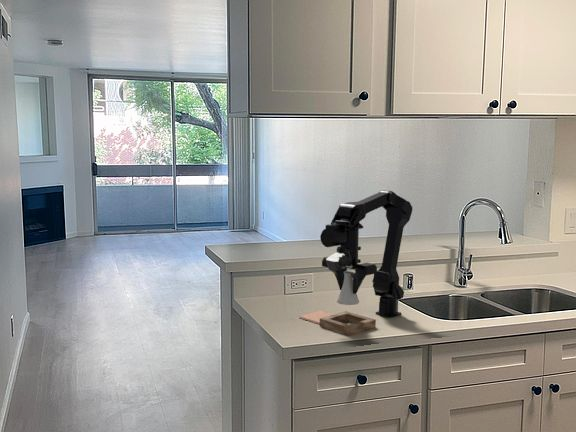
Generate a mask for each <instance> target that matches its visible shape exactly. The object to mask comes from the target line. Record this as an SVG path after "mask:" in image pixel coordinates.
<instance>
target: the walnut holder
mask: <svg viewBox="0 0 576 432" xmlns="http://www.w3.org/2000/svg"><path fill="white" fill-rule="evenodd" d="M376 321H377V319H374V318H371V317H367V316H364V315H361V314H357V313H355V312H354V313H353V312H351V311H342V312H338V313H334V314H333V315H331V316H327V317H324V318H320V324H319V327H321V328H324V329H328V330H331V331H333V332H336V333H340V334H343V335H346V336H352V335H355V334H359V333H363V332H364V331H369V330H371V329H374V328H376V325H377V324H376ZM344 322H348V323H350V324H347V323H344Z"/></svg>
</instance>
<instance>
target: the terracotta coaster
mask: <svg viewBox="0 0 576 432" xmlns="http://www.w3.org/2000/svg"><path fill="white" fill-rule="evenodd" d="M331 315H334V314H333V313H329V312H325V311H324V310H317V311H313V312H311V313H306V314H302V315H300V316H299V318H300V319H302V320H305V321H308V322H311V323H314V324H318V325H320V318H324V317H327V316H331Z"/></svg>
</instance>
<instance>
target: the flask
mask: <svg viewBox="0 0 576 432" xmlns="http://www.w3.org/2000/svg"><path fill="white" fill-rule="evenodd" d="M351 273H355V271H353V270H352V271H351V270H347V271H344V283H343V286H342V289H341V290H340V292H339V295H338V296H337V297H338V298H337V300H336V303H337V304H339V305H343V306H353V305H354V306H355V305H358V304H359V303H360V299H359V297H358V294H357V293H356V294H353V277H352V276H351Z"/></svg>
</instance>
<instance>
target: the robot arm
mask: <svg viewBox="0 0 576 432" xmlns="http://www.w3.org/2000/svg"><path fill="white" fill-rule="evenodd" d="M379 208H383V209H384V210H385V218H386V220H387V223H388V229H387V235H386V240H385V244H384V251H383V256H382V261H381V266H380V268H379V269H378V266H377V265H376V263H370V262H363V263H361V258H360V259H359V251H361V250H362V246H360V245H359V234H360V231H359V230H361V229H364V225H362V223H360V222H361V221H362V220H364V219H365V218H366V217H367V214H368V213H371V212H373V211H375V210H377V209H379ZM412 213H413V205H412V204H411V202H410V201H408V200H406V199H405V198H403V197H402V196H399V195H398V194H396V192H395V191H392V190H385V189H384V190H383V189H382V190H380V191H378V192H377V193H374V194H372V195H369V196H367V197H366V198H362V199H361V200H358V201H348V202H342V203H341V204H339V205H338V208H337V210H336V212H335V214H334V216H333V218H332V220H331V222H330V224H325V228H324V229H323V230H322V231H321V233H320V236H319V237H320V242H321V244H322V245H323V247H325V248H331V247H332V248H333V247H337V248H336V252H335V253H333V254H331V255H329V256H326V257H323V259H322V260H321V266H322V267H324V268H327V269H328V271H331V272H332V273H333V274H334V276H335V279H336V282H337V284H338V288H339V290H340V291H341V289H342V286H343V283H344V271H348V269H350V270H353V271H354V273H351V276H352V277H353V294H357V293H358V291H359V289H360V287H361V285H362V284H363V281H364V280H365V278H366V277H367V276H370V275H373V278H372V280H371V282H372V287H373V291H374V295H375V296H378V297H379V302H378V311H376V312H375V315H379V316H382V317H386V318H394V317H397V316H401V315H402V312H401V311H399V301H400V300H402V299H403V298H404V296H405V291H404V290H403V288H402V286H401V285H400V276H399V273H398V270H397V266H398V261H399V256H400V250H401V243H402V239H403V232H404V228H405V226H406V225H407V224H408V223H409V222H410V220H411V216H412Z"/></svg>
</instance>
